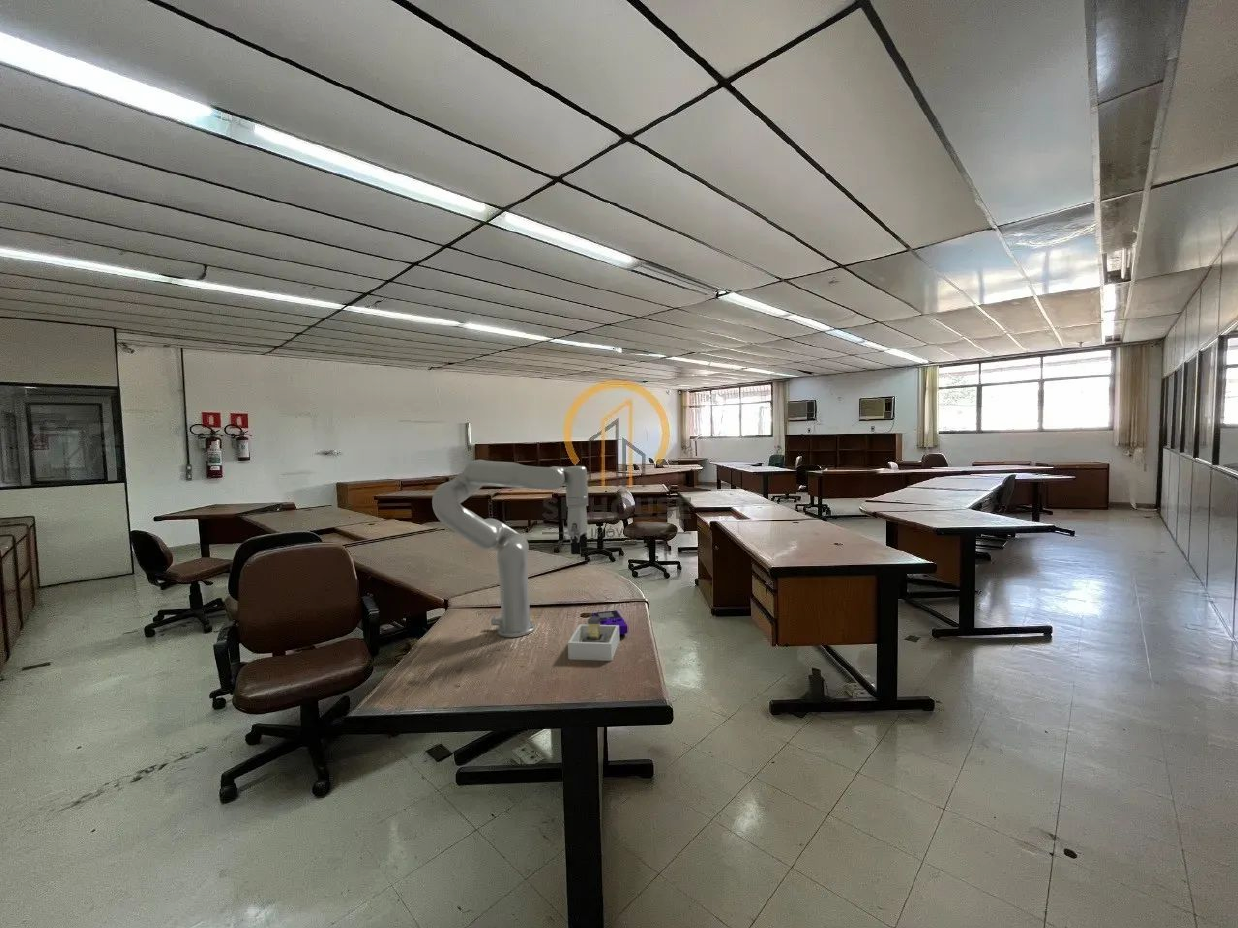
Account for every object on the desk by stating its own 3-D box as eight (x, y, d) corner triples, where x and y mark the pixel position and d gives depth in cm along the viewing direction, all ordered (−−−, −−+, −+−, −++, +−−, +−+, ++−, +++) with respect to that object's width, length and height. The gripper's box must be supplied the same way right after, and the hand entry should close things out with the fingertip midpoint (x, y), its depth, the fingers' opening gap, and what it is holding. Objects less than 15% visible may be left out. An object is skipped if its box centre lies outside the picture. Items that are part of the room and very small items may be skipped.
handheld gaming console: (600, 627, 151) (591, 611, 165) (600, 643, 151) (591, 626, 165) (628, 623, 153) (616, 608, 167) (628, 639, 153) (617, 623, 168)
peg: (589, 648, 143) (588, 619, 143) (591, 644, 146) (590, 616, 146) (598, 648, 143) (597, 620, 143) (601, 644, 146) (599, 616, 145)
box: (568, 659, 139) (567, 642, 139) (580, 639, 153) (579, 624, 152) (611, 660, 137) (611, 643, 137) (619, 640, 151) (619, 625, 150)
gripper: (573, 498, 172) (575, 545, 173) (559, 505, 155) (562, 556, 156) (593, 498, 171) (595, 545, 172) (581, 504, 154) (584, 556, 155)
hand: (579, 550), depth 164 cm, fingers open, 9 cm apart
